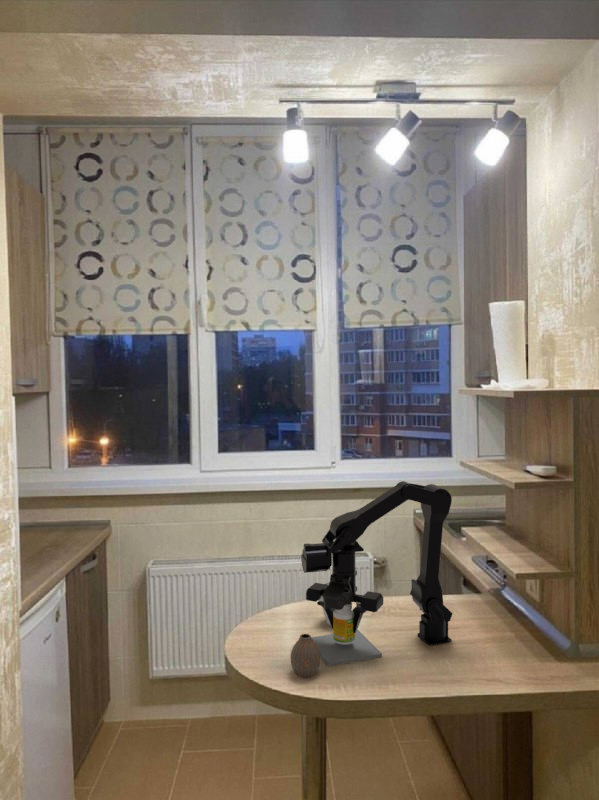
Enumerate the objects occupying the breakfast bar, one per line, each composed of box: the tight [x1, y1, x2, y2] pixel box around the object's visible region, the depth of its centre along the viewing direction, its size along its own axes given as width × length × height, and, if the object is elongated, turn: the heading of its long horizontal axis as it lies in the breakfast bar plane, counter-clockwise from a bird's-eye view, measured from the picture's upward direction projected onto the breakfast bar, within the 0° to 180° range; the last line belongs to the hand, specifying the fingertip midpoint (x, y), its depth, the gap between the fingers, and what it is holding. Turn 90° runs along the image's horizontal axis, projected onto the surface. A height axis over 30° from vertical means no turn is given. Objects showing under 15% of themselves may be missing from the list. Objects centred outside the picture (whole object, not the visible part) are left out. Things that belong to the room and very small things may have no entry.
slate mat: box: [311, 629, 383, 667], centre depth 153 cm, size 14×14×1 cm
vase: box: [290, 633, 322, 678], centre depth 141 cm, size 7×7×9 cm
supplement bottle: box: [332, 602, 355, 645], centre depth 152 cm, size 5×5×10 cm
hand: (344, 630), depth 152 cm, fingers closed on supplement bottle, 5 cm apart
